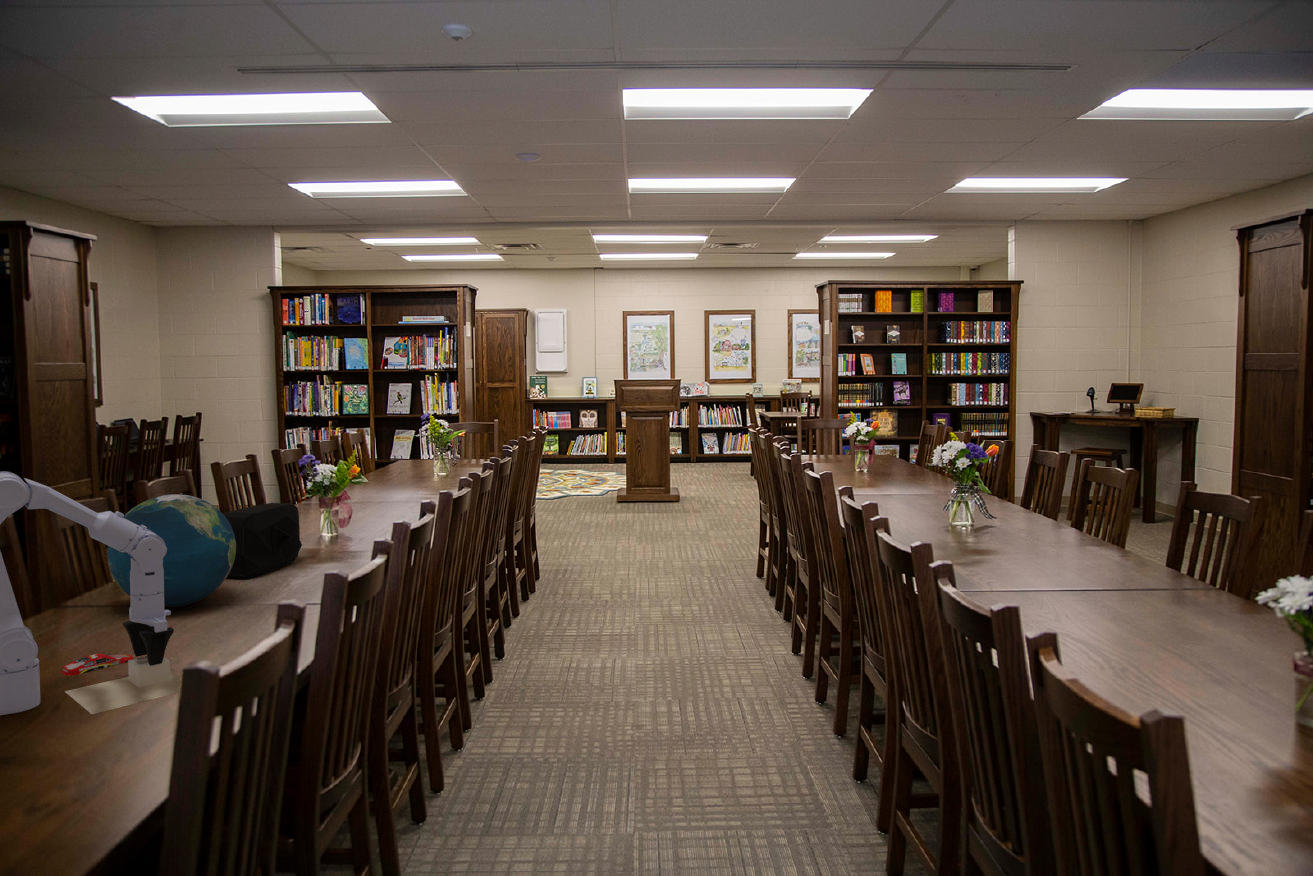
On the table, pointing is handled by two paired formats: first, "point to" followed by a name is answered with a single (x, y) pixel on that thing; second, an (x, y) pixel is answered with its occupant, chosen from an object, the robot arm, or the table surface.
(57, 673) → the table surface
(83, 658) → the race car
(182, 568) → the globe
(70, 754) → the table surface
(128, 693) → the switch board
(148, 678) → the toy microwave
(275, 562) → the black hard case
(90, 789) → the table surface
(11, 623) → the robot arm
